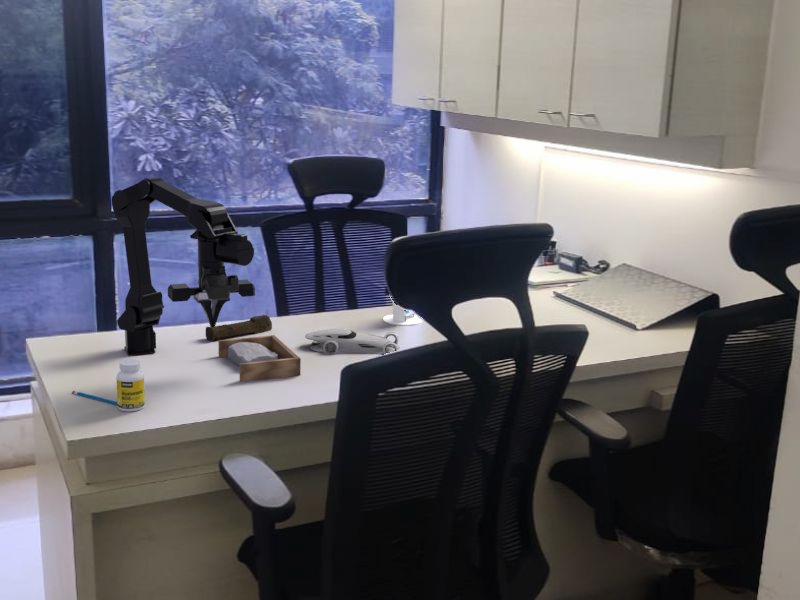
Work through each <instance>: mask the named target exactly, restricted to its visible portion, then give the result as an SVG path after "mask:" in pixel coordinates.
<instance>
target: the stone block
mask: <svg viewBox="0 0 800 600" xmlns="http://www.w3.org/2000/svg"><path fill="white" fill-rule="evenodd" d="M227 359H228V360H229V361H230V362H232V363H234V364H235V365H237V366H238V367H239V363H248V362H258V361H267V360H277V359H278V355H277V354H276V353H275V352H272V351H270V350H268V349H267V348H266V347H264V346H263V345H261V344H258V343H249V342H239V343H236V344H233V345H231V346H229V348H228V356H227Z"/></svg>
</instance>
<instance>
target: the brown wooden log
mask: <svg viewBox="0 0 800 600" xmlns="http://www.w3.org/2000/svg"><path fill="white" fill-rule="evenodd" d="M272 329H273V322H272V321H271V318H270V317H269V316H268V315H267V314H265V315H264V314H262V315H254V316H252V317H250V318H249V320H246V321H245V320H244V321H240V322H235V323H230V324H222V325H215V327H212V328H211V327H210V326H206V327H205V337H206V340H208V341H209V342H213V341H218V340H221V339H224V338H229V337H235V336H236V337H237V336H241V335H245V334H253V335H257V334H262V333H265V332H268V331H271V330H272Z"/></svg>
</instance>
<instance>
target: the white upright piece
mask: <svg viewBox="0 0 800 600" xmlns="http://www.w3.org/2000/svg"><path fill="white" fill-rule="evenodd" d="M389 297H390V301H391V302H392V314H388V315H385V316H384V317H382V318H383V319H382V320H383V322H385V323H386V324H389V325H392V326H393V325H394V326H406V327H407V326H409V327H410V326H416V325H420V324H422V323H423V322H424V320H423V321H422V320H421V319H419V318H418V317H417V316H418V315H415V313H414V314H413V313H411V312H409V311H406V310H403V309H401V308H400V307H398V306H397V305H396V304H395V303H394V301H393V300H392V298H391V296H390V295H389Z"/></svg>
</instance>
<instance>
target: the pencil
mask: <svg viewBox="0 0 800 600" xmlns="http://www.w3.org/2000/svg"><path fill="white" fill-rule="evenodd" d="M71 393H72V395H76V396H80V397H84V398H88V399H92V400H95V401H99V402H103V403H107V404H109V405H110V404H111V405H114V406H117V401H114V400H112V399H108V398H104V397H100V396H96V395H92V394H88V393H84V392H80V391H76V390H72V391H71Z"/></svg>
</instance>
